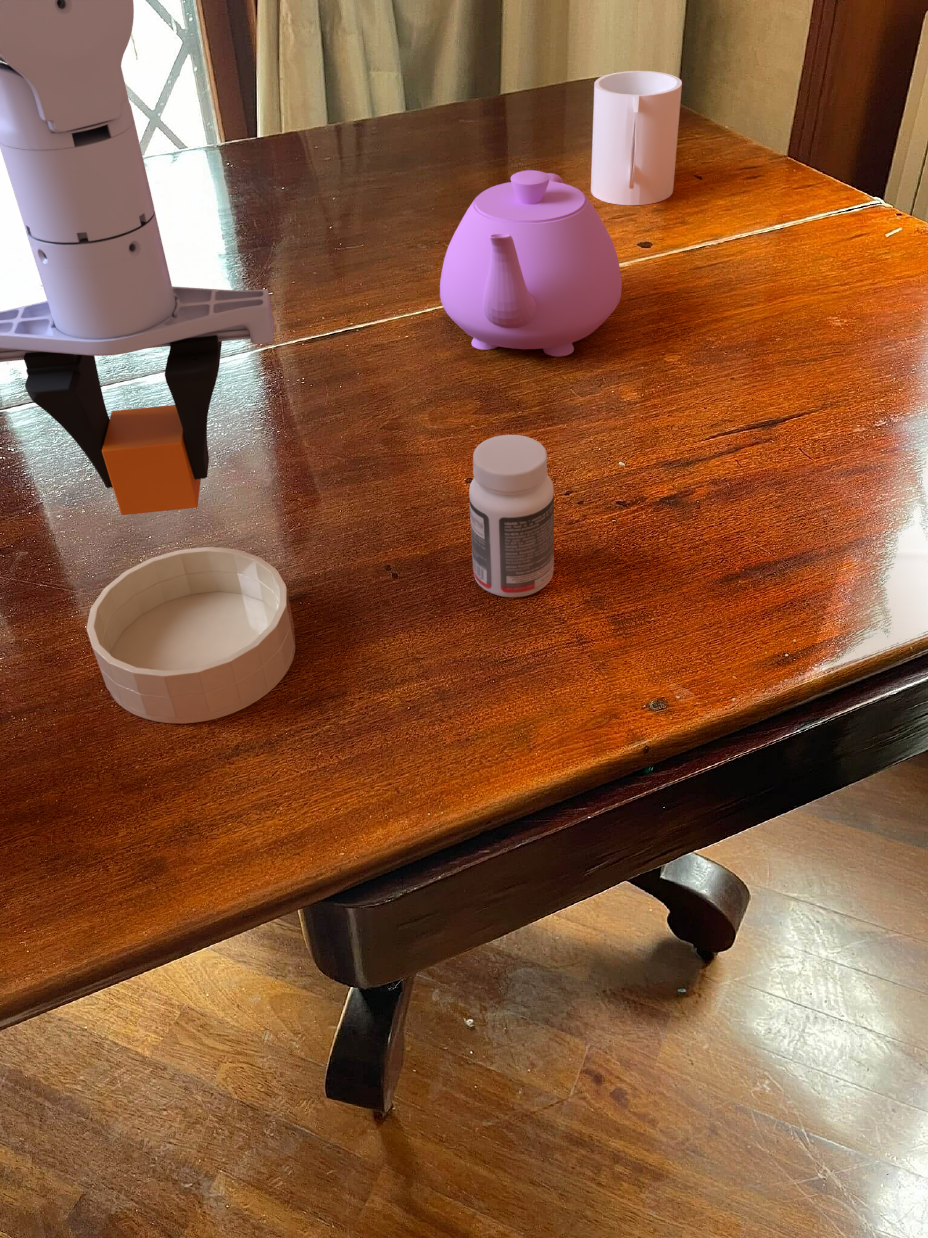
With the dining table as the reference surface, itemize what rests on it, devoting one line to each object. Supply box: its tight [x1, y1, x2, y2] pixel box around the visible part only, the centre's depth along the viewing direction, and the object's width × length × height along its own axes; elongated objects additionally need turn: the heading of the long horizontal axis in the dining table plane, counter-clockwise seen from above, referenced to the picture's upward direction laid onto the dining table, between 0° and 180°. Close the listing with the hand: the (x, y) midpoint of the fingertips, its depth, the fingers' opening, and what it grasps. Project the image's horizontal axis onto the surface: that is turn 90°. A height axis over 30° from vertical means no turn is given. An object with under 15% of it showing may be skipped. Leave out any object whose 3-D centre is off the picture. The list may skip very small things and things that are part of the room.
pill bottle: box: [468, 434, 555, 599], centre depth 62 cm, size 5×5×8 cm
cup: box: [590, 70, 683, 206], centre depth 105 cm, size 8×12×10 cm
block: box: [102, 404, 202, 516], centre depth 58 cm, size 4×4×4 cm
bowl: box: [86, 546, 297, 725], centre depth 59 cm, size 10×10×4 cm
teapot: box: [439, 169, 623, 357], centre depth 83 cm, size 20×14×12 cm
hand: (159, 473), depth 58 cm, fingers closed on block, 4 cm apart
